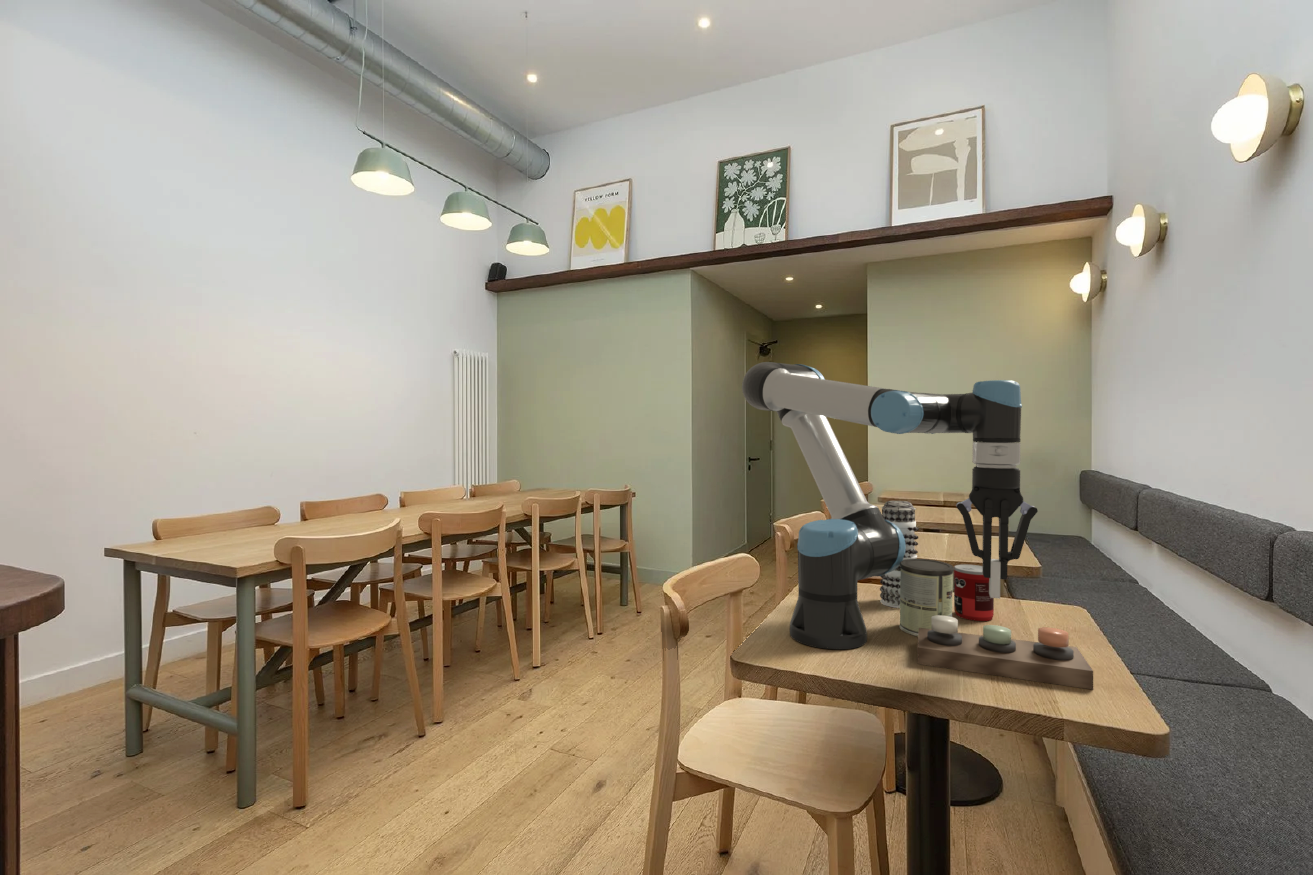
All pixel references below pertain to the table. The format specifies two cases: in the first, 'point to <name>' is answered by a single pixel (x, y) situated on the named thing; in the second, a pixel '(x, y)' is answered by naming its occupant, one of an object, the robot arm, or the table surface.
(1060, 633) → the button terracotta
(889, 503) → the decorative candle
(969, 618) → the canned food
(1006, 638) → the button green
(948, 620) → the button cream
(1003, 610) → the table surface
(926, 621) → the coffee can
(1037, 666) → the button panel
